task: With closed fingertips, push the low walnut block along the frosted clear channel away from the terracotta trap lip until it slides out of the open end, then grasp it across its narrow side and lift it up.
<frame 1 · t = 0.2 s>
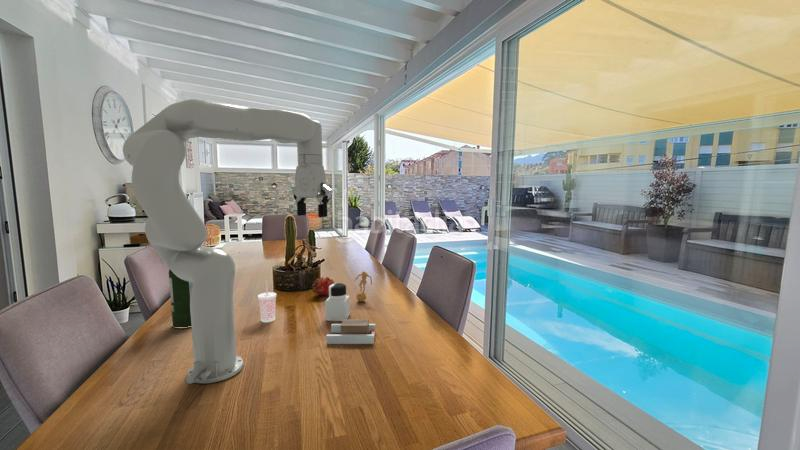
hand: (312, 216, 114), 37 cm above the table, tool pointing down, fingers open, 9 cm apart
figurine: (362, 301, 145), on the table
beverage cup: (268, 320, 125), on the table
block: (355, 337, 111), resting in channel
channel: (352, 337, 111), on the table
dragon fruit: (324, 295, 153), on the table
wine bottle: (186, 325, 121), on the table
medicine bottle: (338, 318, 127), on the table
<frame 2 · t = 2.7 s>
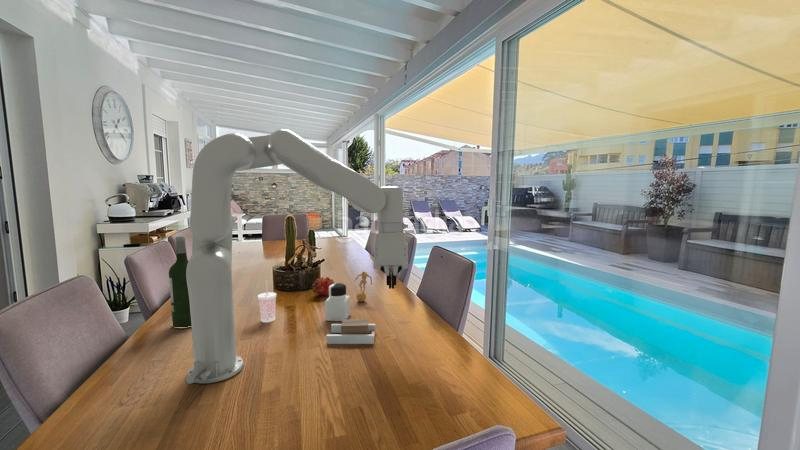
hand: (391, 287, 109), 16 cm above the table, tool pointing down, fingers closed
nothing on the table moved.
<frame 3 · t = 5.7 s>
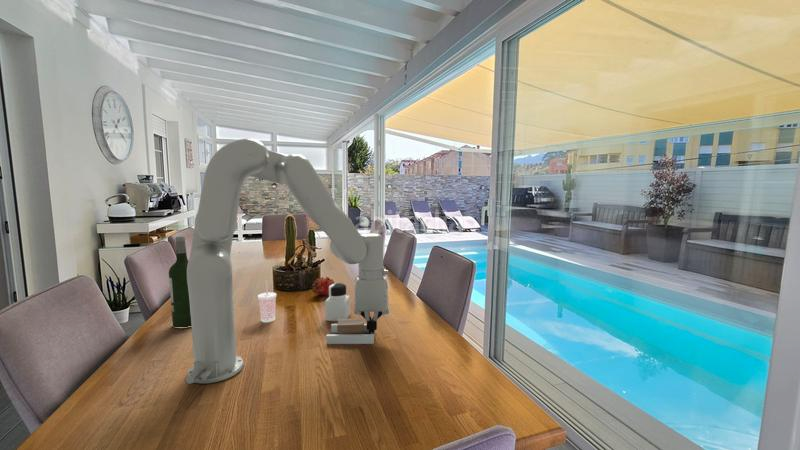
hand: (371, 331, 111), 2 cm above the table, tool pointing down, fingers closed
block: (351, 337, 111), resting in channel, touching gripper
everything else where it was.
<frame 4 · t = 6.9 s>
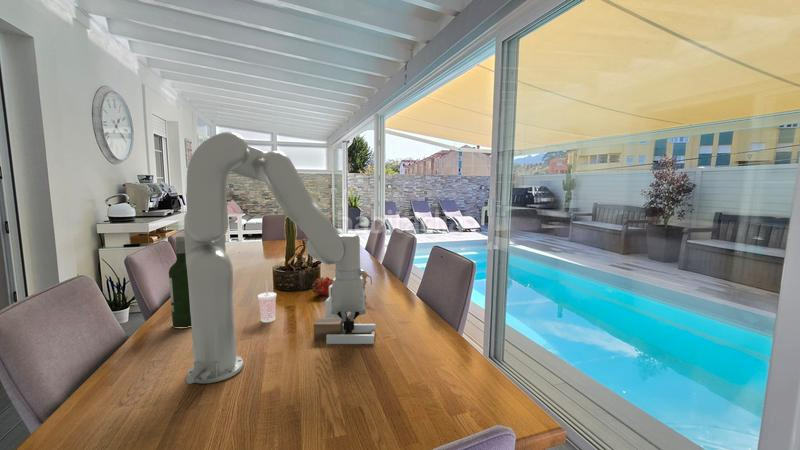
hand: (349, 332, 111), 2 cm above the table, tool pointing down, fingers closed
block: (328, 336, 111), on the table, touching gripper
everything else where it was.
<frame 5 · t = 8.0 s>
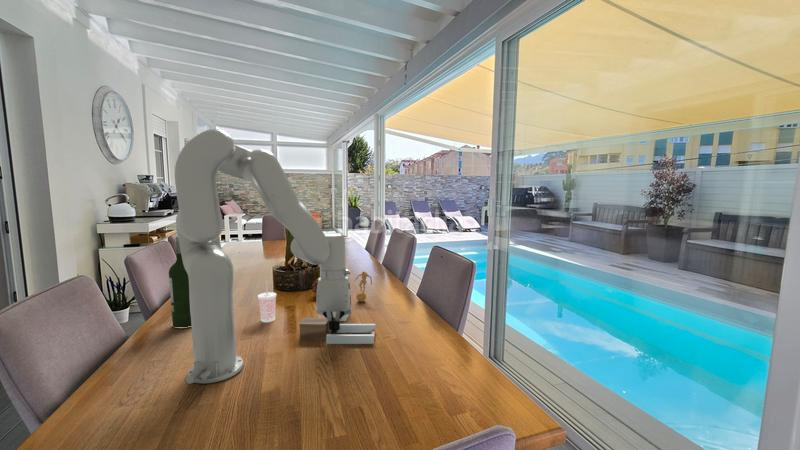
hand: (334, 331, 111), 2 cm above the table, tool pointing down, fingers closed
block: (315, 336, 112), on the table
everything else where it was.
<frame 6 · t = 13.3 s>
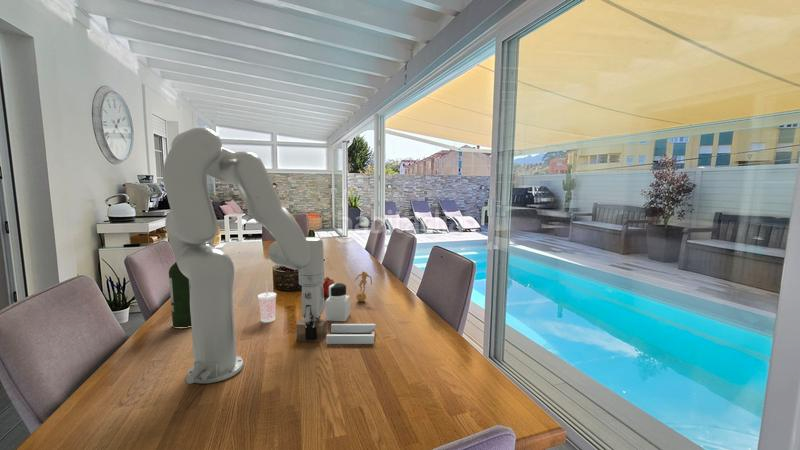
hand: (313, 334, 111), 1 cm above the table, tool pointing down, fingers closed on block, 5 cm apart
block: (312, 337, 111), on the table, touching gripper
everything else where it was.
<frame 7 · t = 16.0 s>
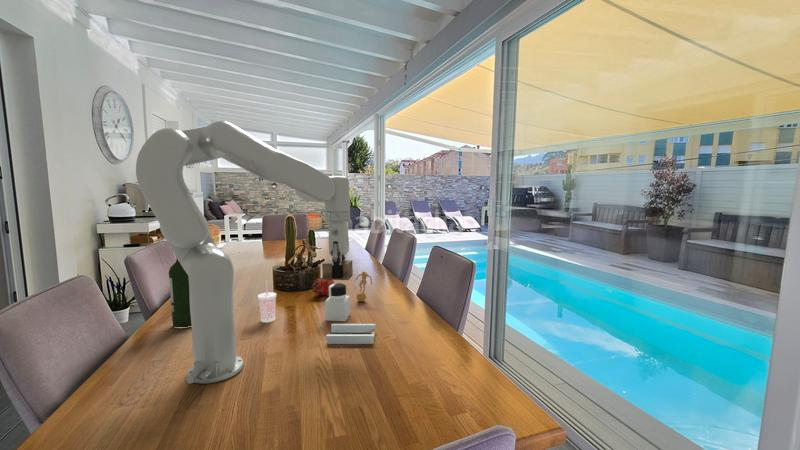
hand: (339, 274, 111), 19 cm above the table, tool pointing down, fingers closed on block, 5 cm apart
block: (337, 277, 111), point 18 cm above the table, touching gripper
everything else where it was.
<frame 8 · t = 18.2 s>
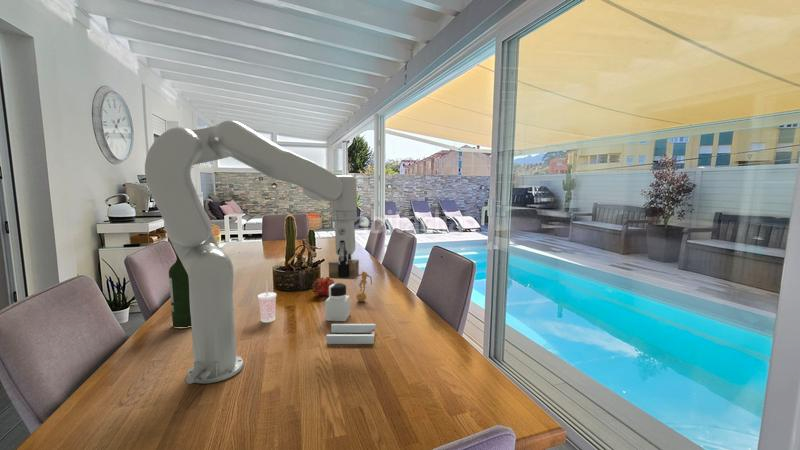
hand: (345, 274, 111), 19 cm above the table, tool pointing down, fingers closed on block, 5 cm apart
block: (344, 276, 111), point 19 cm above the table, touching gripper
everything else where it was.
at the end: the gripper is holding block; block point 18.5 cm above the table; block moved 19.0 cm from its start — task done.
